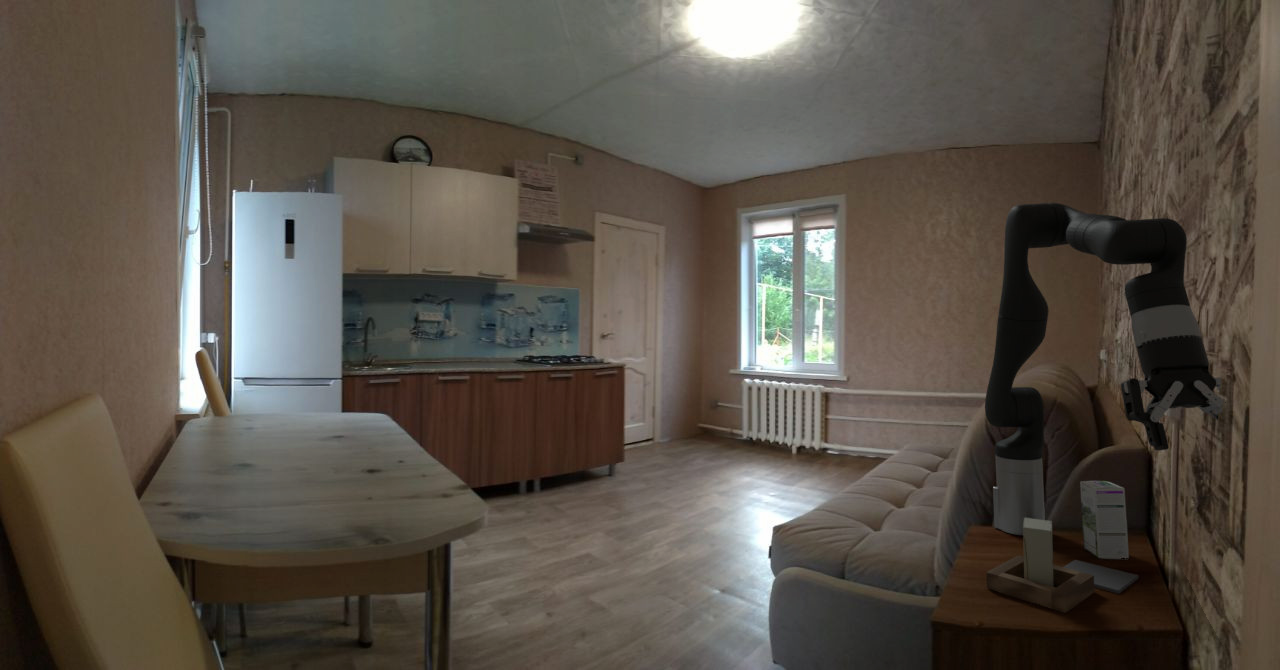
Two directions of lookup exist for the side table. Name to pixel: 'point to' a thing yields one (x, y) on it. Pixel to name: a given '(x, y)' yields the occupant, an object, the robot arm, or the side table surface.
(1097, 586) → the rubber mat
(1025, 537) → the skincare box
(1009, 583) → the walnut collar
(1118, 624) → the side table surface
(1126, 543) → the syrup box
